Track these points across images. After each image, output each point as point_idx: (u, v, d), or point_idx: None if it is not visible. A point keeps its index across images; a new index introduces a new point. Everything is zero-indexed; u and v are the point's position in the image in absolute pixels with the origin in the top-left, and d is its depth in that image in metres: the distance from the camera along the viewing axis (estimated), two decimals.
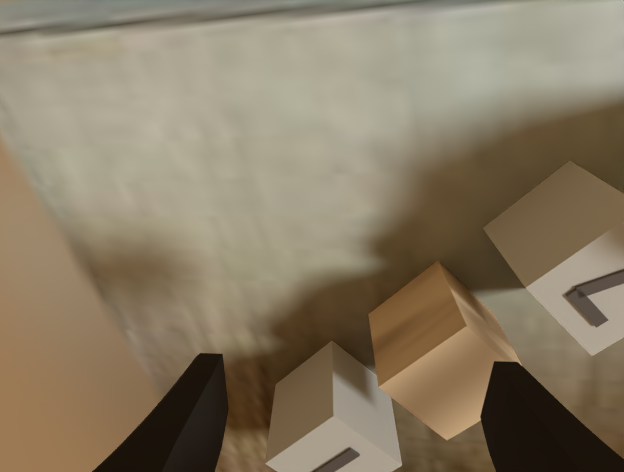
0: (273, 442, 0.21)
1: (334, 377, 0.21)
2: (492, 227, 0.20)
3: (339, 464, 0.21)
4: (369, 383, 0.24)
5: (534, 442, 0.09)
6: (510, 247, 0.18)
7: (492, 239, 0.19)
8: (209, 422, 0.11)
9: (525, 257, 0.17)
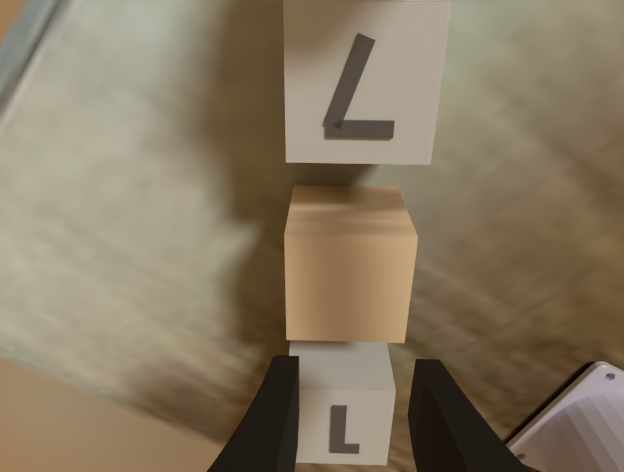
0: None
1: (291, 350, 0.20)
2: None
3: (341, 426, 0.19)
4: None
5: (440, 439, 0.10)
6: None
7: None
8: (293, 425, 0.10)
9: None
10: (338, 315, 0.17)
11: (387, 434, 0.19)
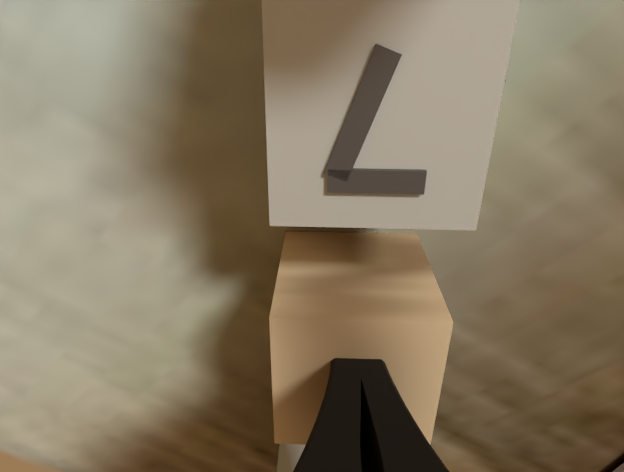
0: None
1: None
2: None
3: None
4: None
5: (370, 437, 0.10)
6: None
7: None
8: None
9: None
10: None
11: None
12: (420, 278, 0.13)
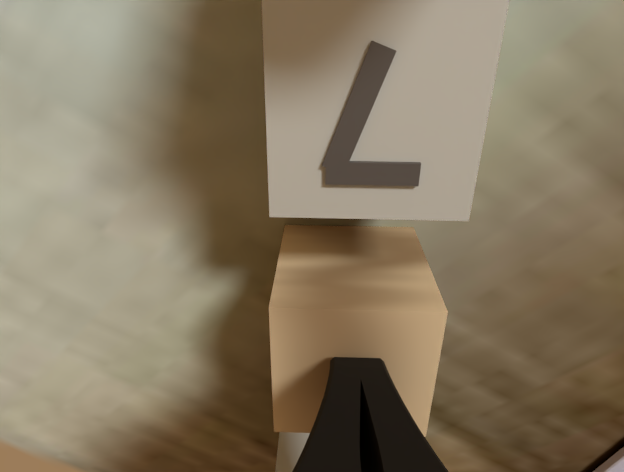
0: None
1: None
2: None
3: None
4: None
5: (369, 437, 0.10)
6: None
7: None
8: None
9: None
10: None
11: None
12: (416, 270, 0.13)
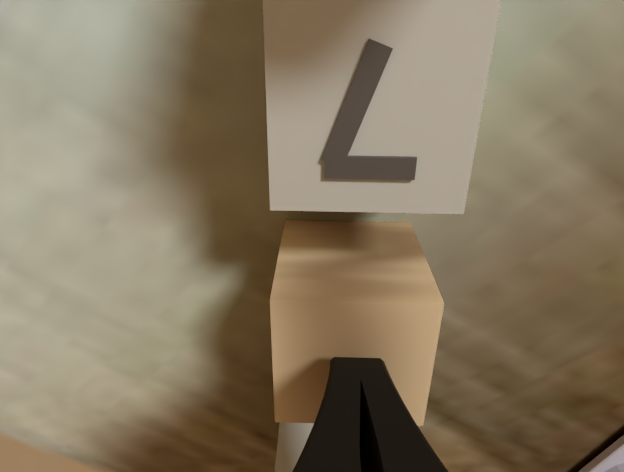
0: None
1: None
2: None
3: None
4: None
5: (369, 437, 0.10)
6: None
7: None
8: None
9: None
10: None
11: None
12: (413, 263, 0.13)
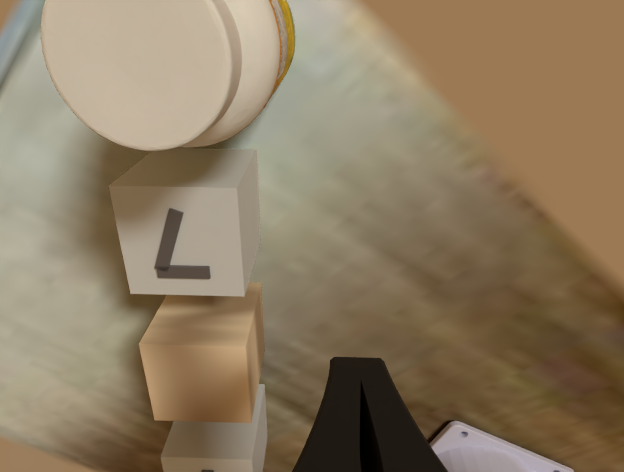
0: None
1: None
2: None
3: None
4: None
5: (369, 437, 0.10)
6: None
7: None
8: None
9: None
10: (193, 402, 0.20)
11: None
12: (243, 317, 0.20)
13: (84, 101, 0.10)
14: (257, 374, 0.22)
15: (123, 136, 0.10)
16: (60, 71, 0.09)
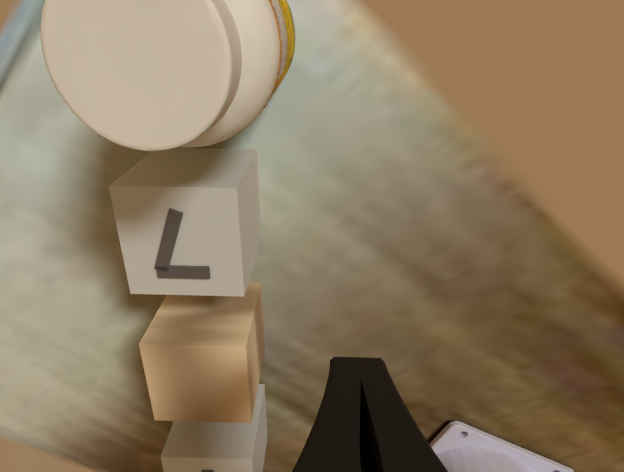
0: None
1: None
2: None
3: None
4: None
5: (369, 437, 0.10)
6: None
7: None
8: None
9: None
10: (193, 402, 0.20)
11: None
12: (243, 317, 0.20)
13: (84, 101, 0.10)
14: (257, 374, 0.22)
15: (123, 136, 0.10)
16: (60, 71, 0.09)
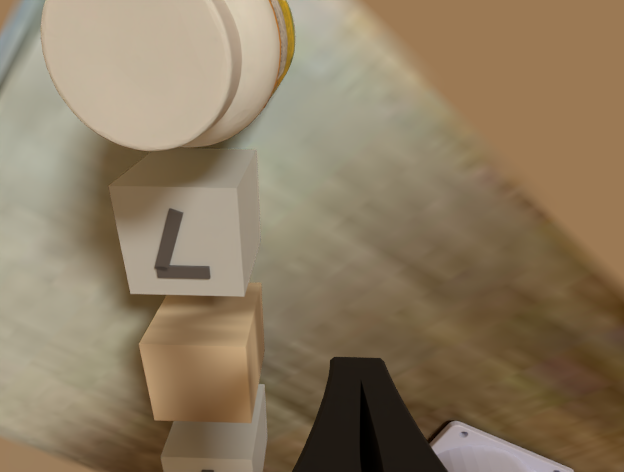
0: None
1: None
2: None
3: None
4: None
5: (369, 437, 0.10)
6: None
7: None
8: None
9: None
10: (193, 402, 0.20)
11: None
12: (243, 317, 0.20)
13: (84, 101, 0.10)
14: (257, 374, 0.22)
15: (123, 136, 0.10)
16: (60, 71, 0.09)
